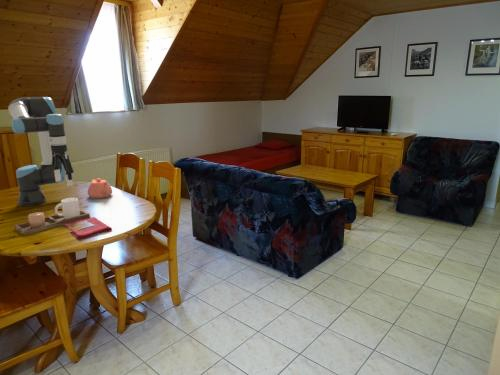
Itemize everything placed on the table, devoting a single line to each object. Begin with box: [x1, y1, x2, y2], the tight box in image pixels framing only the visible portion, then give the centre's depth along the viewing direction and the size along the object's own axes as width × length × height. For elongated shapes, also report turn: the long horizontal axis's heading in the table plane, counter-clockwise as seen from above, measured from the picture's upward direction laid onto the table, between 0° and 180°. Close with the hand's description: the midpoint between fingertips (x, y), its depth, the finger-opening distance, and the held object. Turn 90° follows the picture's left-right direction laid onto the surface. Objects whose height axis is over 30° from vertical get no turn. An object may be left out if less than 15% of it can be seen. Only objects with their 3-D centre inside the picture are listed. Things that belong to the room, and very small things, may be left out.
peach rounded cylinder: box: [27, 211, 46, 229], centre depth 187 cm, size 7×7×7 cm
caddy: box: [14, 208, 91, 236], centre depth 193 cm, size 13×33×3 cm, turn 141°
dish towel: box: [63, 216, 113, 240], centre depth 188 cm, size 17×24×3 cm
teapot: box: [87, 177, 113, 200], centre depth 240 cm, size 22×15×12 cm
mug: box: [54, 197, 81, 219], centre depth 199 cm, size 12×8×10 cm
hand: (64, 183), depth 195 cm, fingers open, 13 cm apart
